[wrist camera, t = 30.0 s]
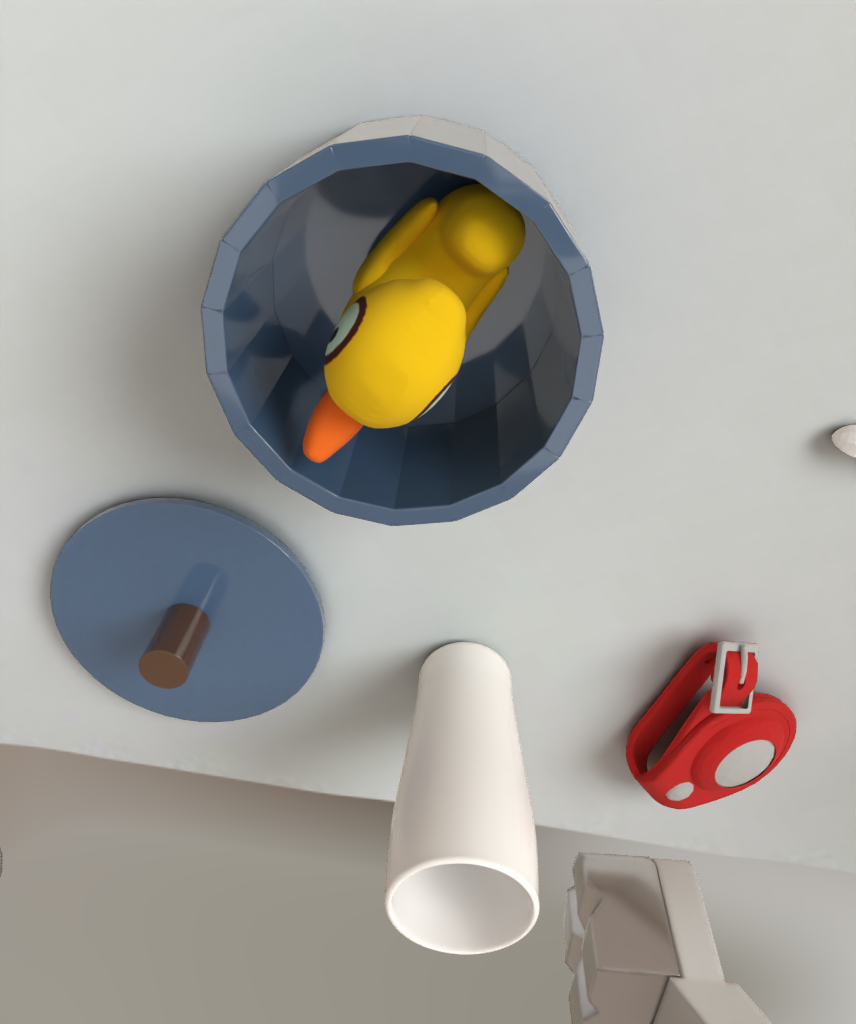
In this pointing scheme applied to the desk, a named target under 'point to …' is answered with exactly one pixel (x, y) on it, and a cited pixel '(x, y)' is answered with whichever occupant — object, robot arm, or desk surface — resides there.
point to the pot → (327, 289)
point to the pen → (846, 439)
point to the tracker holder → (712, 730)
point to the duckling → (413, 314)
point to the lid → (187, 609)
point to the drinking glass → (463, 812)
